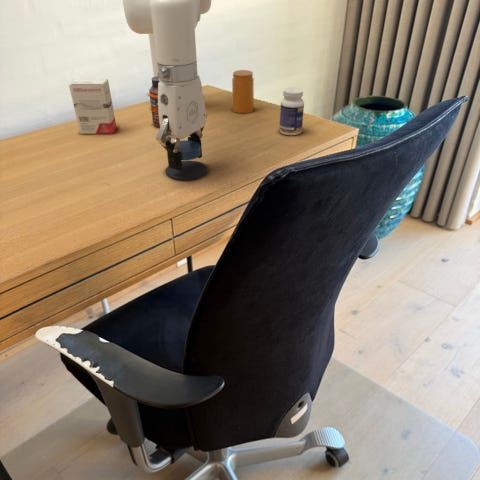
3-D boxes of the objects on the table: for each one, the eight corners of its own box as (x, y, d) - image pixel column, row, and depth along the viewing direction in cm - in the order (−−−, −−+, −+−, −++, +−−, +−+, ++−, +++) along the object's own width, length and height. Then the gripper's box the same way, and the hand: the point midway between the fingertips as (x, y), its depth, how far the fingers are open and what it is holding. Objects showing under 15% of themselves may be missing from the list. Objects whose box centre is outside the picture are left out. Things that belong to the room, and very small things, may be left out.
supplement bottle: (148, 125, 124) (142, 79, 116) (162, 118, 128) (157, 73, 120) (166, 130, 122) (161, 82, 114) (180, 122, 125) (176, 76, 118)
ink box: (117, 126, 124) (108, 77, 116) (113, 134, 120) (103, 83, 112) (84, 127, 124) (73, 78, 116) (79, 134, 120) (68, 84, 112)
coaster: (157, 174, 102) (157, 172, 102) (182, 159, 108) (182, 157, 108) (191, 184, 99) (190, 182, 98) (215, 168, 104) (215, 166, 104)
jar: (228, 111, 132) (227, 73, 125) (239, 105, 136) (239, 68, 129) (246, 114, 130) (246, 77, 123) (257, 108, 133) (257, 71, 127)
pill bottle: (300, 136, 117) (303, 94, 111) (277, 135, 118) (279, 92, 112) (302, 128, 122) (306, 86, 115) (280, 127, 123) (282, 85, 116)
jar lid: (205, 157, 100) (205, 148, 99) (177, 162, 97) (176, 154, 96) (193, 146, 104) (192, 138, 103) (165, 151, 102) (164, 143, 101)
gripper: (164, 86, 83) (175, 182, 95) (219, 63, 94) (222, 152, 106) (132, 80, 86) (146, 173, 98) (188, 58, 97) (195, 145, 109)
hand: (185, 161), depth 102 cm, fingers closed on jar lid, 6 cm apart
